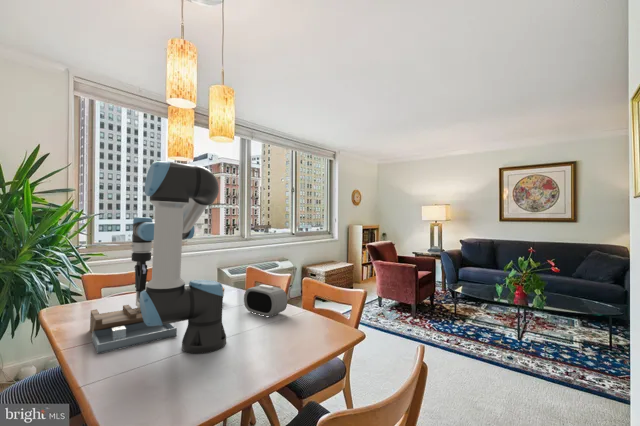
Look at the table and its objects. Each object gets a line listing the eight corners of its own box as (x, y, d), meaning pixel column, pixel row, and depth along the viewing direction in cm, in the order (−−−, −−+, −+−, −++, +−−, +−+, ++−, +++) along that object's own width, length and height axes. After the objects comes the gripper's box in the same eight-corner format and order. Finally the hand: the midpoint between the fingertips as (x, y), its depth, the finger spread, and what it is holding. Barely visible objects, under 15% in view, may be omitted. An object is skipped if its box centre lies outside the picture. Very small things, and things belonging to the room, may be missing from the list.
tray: (176, 335, 118) (176, 328, 118) (97, 353, 101) (97, 344, 101) (164, 324, 129) (164, 317, 129) (91, 339, 112) (92, 331, 112)
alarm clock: (242, 311, 150) (243, 284, 150) (256, 307, 158) (257, 281, 158) (273, 320, 139) (274, 291, 139) (287, 315, 147) (287, 287, 147)
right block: (150, 310, 128) (150, 301, 128) (139, 312, 126) (139, 303, 126) (147, 308, 131) (147, 299, 131) (137, 310, 129) (137, 301, 129)
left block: (123, 336, 115) (125, 339, 112) (110, 338, 112) (112, 342, 109) (124, 325, 115) (126, 328, 112) (111, 327, 112) (113, 331, 109)
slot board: (165, 327, 126) (166, 308, 126) (94, 342, 110) (95, 320, 110) (155, 318, 137) (156, 300, 137) (89, 330, 121) (90, 310, 121)
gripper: (128, 250, 136) (126, 303, 136) (135, 253, 127) (133, 310, 126) (147, 250, 142) (145, 300, 141) (155, 252, 132) (153, 307, 131)
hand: (139, 305), depth 134 cm, fingers closed
